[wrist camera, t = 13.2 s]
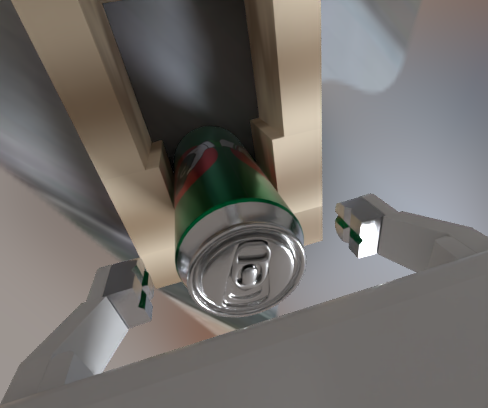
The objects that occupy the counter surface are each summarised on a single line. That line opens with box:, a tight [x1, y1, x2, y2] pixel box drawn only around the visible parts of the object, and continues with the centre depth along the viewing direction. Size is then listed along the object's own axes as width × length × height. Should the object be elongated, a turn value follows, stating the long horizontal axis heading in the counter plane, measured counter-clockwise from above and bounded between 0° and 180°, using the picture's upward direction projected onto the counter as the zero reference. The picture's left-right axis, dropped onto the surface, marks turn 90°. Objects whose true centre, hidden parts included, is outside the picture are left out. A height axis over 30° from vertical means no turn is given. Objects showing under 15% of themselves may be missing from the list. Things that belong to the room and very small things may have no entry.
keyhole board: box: [11, 0, 322, 289], centre depth 16 cm, size 18×12×5 cm, turn 9°
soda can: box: [174, 126, 306, 317], centre depth 14 cm, size 5×5×12 cm
